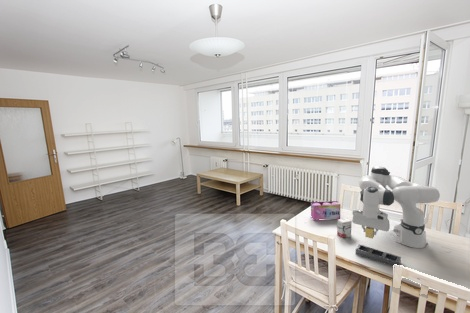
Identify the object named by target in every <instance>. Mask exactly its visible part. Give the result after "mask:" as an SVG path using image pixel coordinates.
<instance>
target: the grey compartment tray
mask: <svg viewBox="0 0 470 313" xmlns="http://www.w3.org/2000/svg"><path fill="white" fill-rule="evenodd" d="M355 255H357V256H360V257H364V258H366V259H369V260H372V261H376V262H378V263H380V264H384V265H387V266H390V267H392V266H393V265H394V264H397V265H399V266H400V265H401V261H402V260H401V258H402V257H401V256H399V255H396V254H392V253H389V252H385V251H382V250H379V249H375V248H373V247H371V246H366V245H363V244H360V243H358V245H357V246H356V248H355Z"/></svg>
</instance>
